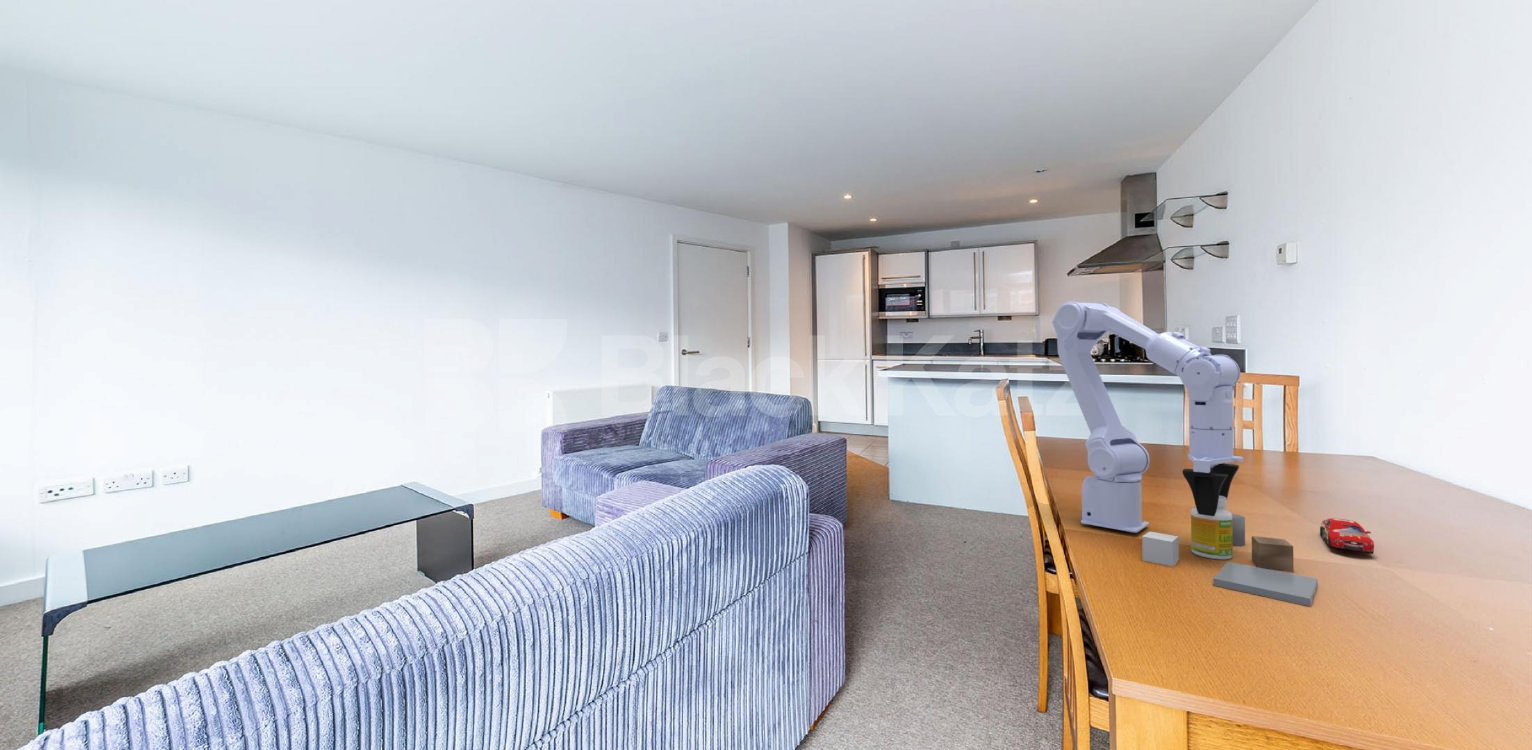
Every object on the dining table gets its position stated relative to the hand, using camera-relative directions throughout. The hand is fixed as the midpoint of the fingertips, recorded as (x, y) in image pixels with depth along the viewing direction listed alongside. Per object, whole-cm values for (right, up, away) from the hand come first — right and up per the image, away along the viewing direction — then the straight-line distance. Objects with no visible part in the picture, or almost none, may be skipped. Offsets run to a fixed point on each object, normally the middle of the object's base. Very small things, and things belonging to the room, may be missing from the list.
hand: (1211, 510), depth 94 cm
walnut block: (+5, -7, -5) cm, 11 cm away
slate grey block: (+7, -7, +5) cm, 12 cm away
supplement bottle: (0, -8, 0) cm, 8 cm away
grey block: (-10, -8, -2) cm, 13 cm away
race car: (+23, -9, -1) cm, 25 cm away
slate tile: (-3, -8, -13) cm, 15 cm away
